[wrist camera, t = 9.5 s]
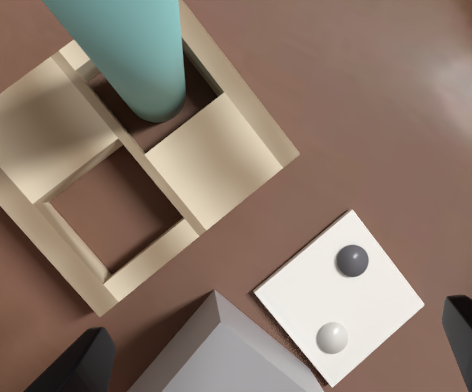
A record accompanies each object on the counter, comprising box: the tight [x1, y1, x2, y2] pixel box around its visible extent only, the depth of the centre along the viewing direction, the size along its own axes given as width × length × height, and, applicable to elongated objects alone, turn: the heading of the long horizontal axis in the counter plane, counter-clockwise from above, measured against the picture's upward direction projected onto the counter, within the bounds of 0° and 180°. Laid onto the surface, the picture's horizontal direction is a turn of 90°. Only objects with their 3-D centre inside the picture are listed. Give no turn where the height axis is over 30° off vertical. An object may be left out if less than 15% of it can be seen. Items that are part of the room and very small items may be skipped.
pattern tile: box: [253, 209, 425, 387], centre depth 22 cm, size 8×8×1 cm
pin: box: [42, 0, 186, 123], centre depth 14 cm, size 4×4×13 cm
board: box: [0, 0, 300, 317], centre depth 19 cm, size 14×12×2 cm
